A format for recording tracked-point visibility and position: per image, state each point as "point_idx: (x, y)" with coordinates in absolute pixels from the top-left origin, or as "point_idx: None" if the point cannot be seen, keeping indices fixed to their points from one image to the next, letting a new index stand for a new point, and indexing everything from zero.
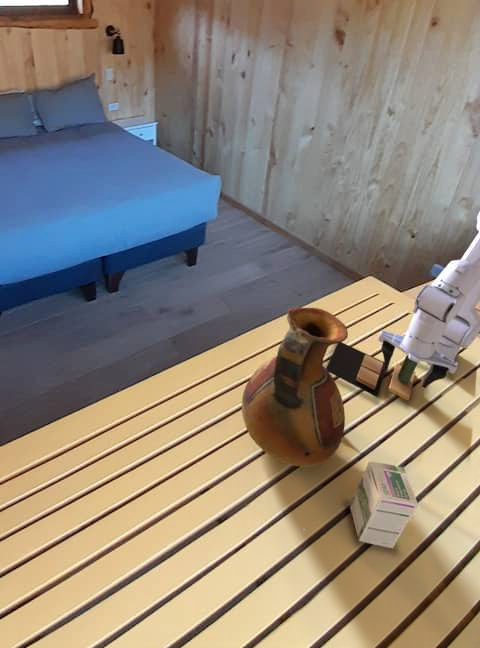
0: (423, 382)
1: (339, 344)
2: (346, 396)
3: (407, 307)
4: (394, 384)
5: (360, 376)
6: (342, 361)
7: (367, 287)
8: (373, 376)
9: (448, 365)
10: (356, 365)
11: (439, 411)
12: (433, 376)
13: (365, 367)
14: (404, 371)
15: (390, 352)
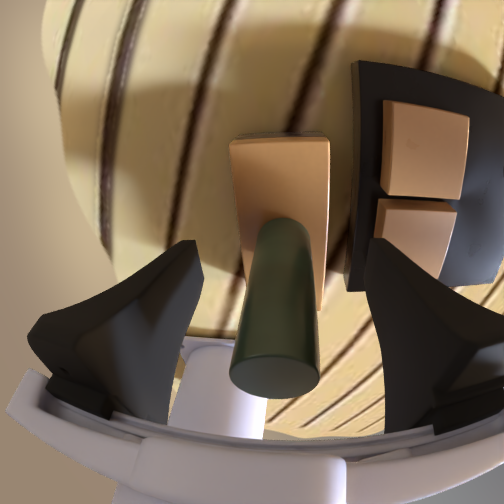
0: (190, 263)
1: (495, 269)
2: (444, 31)
3: (305, 432)
4: (311, 182)
5: (459, 128)
6: (497, 193)
7: (377, 431)
8: (411, 166)
9: (25, 425)
10: (459, 204)
11: (142, 199)
12: (99, 308)
13: (439, 208)
14: (293, 269)
15: (482, 353)
